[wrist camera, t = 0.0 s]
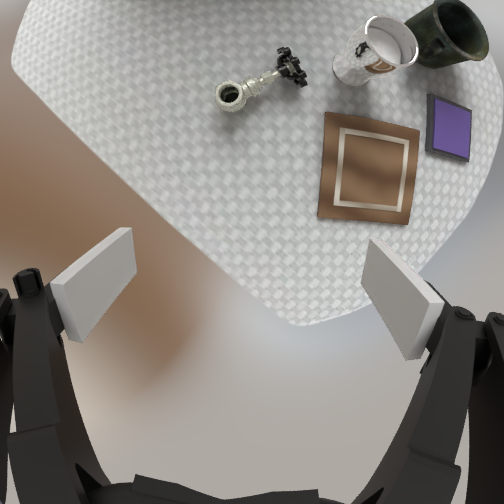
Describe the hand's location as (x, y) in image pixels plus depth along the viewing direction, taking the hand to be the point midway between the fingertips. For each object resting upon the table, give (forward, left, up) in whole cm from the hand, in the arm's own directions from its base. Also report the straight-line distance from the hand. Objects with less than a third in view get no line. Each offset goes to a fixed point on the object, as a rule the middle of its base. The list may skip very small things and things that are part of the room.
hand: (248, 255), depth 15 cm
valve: (-14, 0, -28) cm, 32 cm away
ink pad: (-13, +33, -28) cm, 45 cm away
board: (-3, +18, -28) cm, 33 cm away
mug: (-27, +27, -28) cm, 47 cm away
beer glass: (-19, +14, -28) cm, 37 cm away
